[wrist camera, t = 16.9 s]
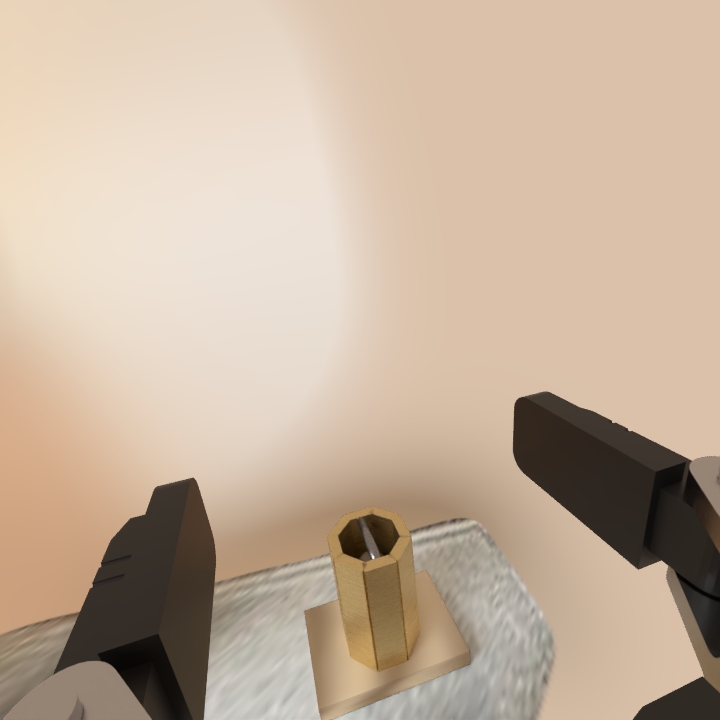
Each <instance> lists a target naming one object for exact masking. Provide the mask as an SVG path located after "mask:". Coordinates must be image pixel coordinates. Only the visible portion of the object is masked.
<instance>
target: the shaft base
mask: <svg viewBox="0 0 720 720" xmlns="http://www.w3.org/2000/svg"><path fill="white" fill-rule="evenodd" d="M380 554H381V553H380ZM381 557H383V555H382V554H381ZM359 560H361V561H363V562H367V561H370V560H371V559H370V557H369V554H368V551H367V552H365V553H364V554H363V555H362V556H361V557H360V559H359ZM415 582H416V593H417V604H418V616H419V627H420V634H419V637H418V639H417V642H416V644H415V646H414V649H413V651H412V654H411V656H410V659H409V660H408V659H407V662H405V663H402V664H400V665H397V666H394V667H392V668H389V669H386V670H384V671H381V672H379V670H378V671H377V672H376V671H374V670H372V669H370V668H368V667H367V666H365V665H363V664H361V663H359V662H357V661H356V660H354V659H352V658H351V656H350V654H349V650H348V646H347V641H346V637H345V633H344V628H343V623H342V617H341V612H340V606H339V600H335V601H332V602H329V603H326V604H323V605H320V606H317V607H314V608H311V609H308V610H305V611H304V612H305V619H306V626H307V633H308V639H309V646H310V653H311V660H312V667H313V673H314V680H315V687H316V694H317V701H318V708H319V713H320V717H321V720H331V719H334V718H336V717H339V716H341V715H344V714H346V713H349V712H351V711H354V710H356V709H359V708H361V707H364V706H366V705H369V704H371V703H374V702H376V701H379V700H381V699H384V698H386V697H389V696H391V695H394V694H396V693H399V692H401V691H404V690H406V689H409V688H411V687H414V686H416V685H419V684H421V683H424V682H426V681H429V680H431V679H434V678H436V677H439V676H441V675H444V674H446V673H449V672H451V671H454V670H456V669H459V668H461V667H464V666H466V665H469V664H470V650H469V648H468V647H467V645H466V643H465V641H464V639H463V637H462V635H461V633H460V632H459V630H458V628H457V626H456V624H455V622H454V620H453V619H452V617H451V615H450V613H449V611H448V609H447V607H446V605H445V604H444V602H443V600H442V598H441V596H440V594H439V592H438V591H437V589H436V587H435V585H434V583H433V581H432V579H431V577H430V576H429V574H428V572H427V570H425V571H422V572H419V573H416V574H415Z"/></svg>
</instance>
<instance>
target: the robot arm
mask: <svg viewBox="0 0 720 720" xmlns="http://www.w3.org/2000/svg"><path fill="white" fill-rule="evenodd" d="M513 453H514V457H515V461H516V463H517V465H518V467H519V468H520V469H521V470H522V472H523V473H524V474H525V475H526V476H528V477H529V478H530V479H531V480H532V481H534V482H535V483H536V484H537V485H538V486H540V487H541V488H542V489H543V490H544V491H546V492H547V493H548V494H549V495H550V496H551V497H553V498H554V499H555V500H556V501H557V502H559V503H560V504H561V505H562V506H563V507H565V508H566V509H567V510H568V511H569V512H571V513H572V514H573V515H574V516H575V517H576V518H578V519H579V520H580V521H581V522H582V523H583V524H585V525H586V526H587V527H588V528H590V529H591V530H592V531H593V532H594V533H595V534H597V535H598V536H599V537H600V538H601V539H602V540H604V541H605V542H606V543H607V544H608V545H610V546H611V547H612V548H613V549H614V550H616V551H617V552H618V553H619V554H620V555H621V556H623V557H624V558H625V559H626V560H627V561H629V562H630V563H631V564H632V565H633V566H635V567H636V568H637V569H641V568H643V567H646V566H648V565H651V564H654V563H656V562H659V561H661V560H662V561H663V562H665V563H666V564H667V565H668V569H667V574H666V576H667V577H666V578H667V582H668V585H669V587H670V590H671V593H672V595H673V597H674V600H675V603H676V605H677V608H678V610H679V613H680V615H681V618H682V620H683V623H684V625H685V628H686V630H687V633H688V635H689V638H690V640H691V643H692V645H693V648H694V650H695V653H696V656H697V658H698V661H699V663H700V666H701V668H702V671H703V674H704V677H701V678H699V679H696V680H695V681H693V682H691V683H689V684H687V685H685V686H683V687H681V688H679V689H677V690H675V691H673V692H671V693H669V694H667V695H665V696H663V697H661V698H659V699H657V700H655V701H653V702H651V703H649V704H647V705H645V706H643V707H642V708H641V709H640V711H639V712H638V713H637V715H636V716H635V717H634V719H633V720H720V457H716V456H709V457H701V458H698V459H695V460H693V461H691V460H689V459H687V458H685V457H683V456H681V455H679V454H677V453H675V452H673V451H671V450H669V449H667V448H665V447H663V446H661V445H659V444H657V443H655V442H653V441H651V440H649V439H647V438H645V437H643V436H641V435H639V434H637V433H635V432H633V431H630V432H629V431H628V429H627V428H625V427H623V426H621V425H619V424H617V423H612V421H611V420H609V419H607V418H605V417H603V416H601V415H599V414H597V413H595V412H593V411H590V410H587V409H583V408H580V407H578V406H576V405H574V404H572V403H570V402H568V401H566V400H564V399H562V398H560V397H558V396H556V395H554V394H552V393H550V392H541V393H537V394H533V395H529V396H525V397H521V398H519V399H518V400H517V401H516V403H515V406H514V431H513ZM215 568H216V554H215V544H214V539H213V534H212V531H211V527H210V524H209V520H208V517H207V514H206V510H205V507H204V504H203V500H202V497H201V494H200V490H199V487H198V484H197V482H196V480H195V479H194V478H190V479H186V480H182V481H178V482H174V483H170V484H166V485H162V486H157V487H156V488H155V489H154V491H153V494H152V497H151V500H150V503H149V506H148V508H147V511H146V514H145V515H142V516H139V517H134V518H130V520H129V521H128V522H127V523H126V524H125V525H124V526H123V527H122V528H121V530H120V531H119V532H118V533H117V534H116V535H115V536H114V537H113V538H112V540H111V541H110V543H109V546H108V548H107V550H106V553H105V555H104V557H103V560H102V562H101V567H100V568H99V569H98V572H97V574H96V576H95V578H94V581H93V588H91V589H90V590H89V592H88V595H87V597H86V599H85V602H84V604H83V606H82V609H81V611H80V613H79V616H78V618H77V620H76V623H75V625H74V627H73V630H72V632H71V634H70V637H69V639H68V641H67V644H66V646H65V648H64V651H63V653H62V655H61V658H60V660H59V662H58V665H57V667H56V669H55V672H54V674H53V676H51V677H49V678H48V679H46V680H45V681H43V682H42V683H40V684H39V685H38V686H36V687H35V688H34V689H32V690H31V691H30V692H29V693H28V694H27V695H25V696H24V697H23V698H22V699H21V700H20V701H19V702H18V703H17V704H16V705H15V706H14V707H13V708H12V709H11V710H10V711H9V712H8V714H7V715H6V716H5V717H4V718H3V719H2V720H204V708H205V695H206V683H207V670H208V657H209V644H210V632H211V619H212V606H213V594H214V581H215Z"/></svg>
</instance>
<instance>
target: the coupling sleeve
mask: <svg viewBox="0 0 720 720" xmlns="http://www.w3.org/2000/svg"><path fill="white" fill-rule="evenodd" d="M327 539H328V545H329V550H330V556H331V561H332V567H333V573H334V578H335V584H336V589H337V595H338V600H339V606H340V612H341V617H342V623H343V628H344V633H345V637H346V641H347V646H348V650H349V654H350V656H351V658H352V659H354V660H356V661H357V662H359V663H361V664H363V665H365V666H367V667H368V668H370V669H372V670H374V671H376V672H377V671H378V670H379V672H381V671H384V670H386V669H389V668H392V667H394V666H397V665H400V664H402V663H405V662H407V659H408V660H409V659H410V656H411V654H412V651H413V649H414V646H415V644H416V642H417V639H418V637H419V634H420V627H419V616H418V604H417V593H416V582H415V571H414V560H413V549H412V538H411V534H410V532H409V530H408V529H407V527H406V525H405V523H404V521H403V519H402V517H401V516H399V514H396V513H393V512H390V511H386V510H383V509H380V508H376V507H373V508H372V507H369V508H366V509H362V510H358V511H355V512H351V513H348V514H345V516H342V518H341V519H340V520H339V521H338V523H337V524H336V525H335V526H334V528H333V529H332V530H331V531H330V532H329V534H328V536H327ZM367 551H368V554H369V557H370V559H371V560H370V561H367V562H363V561H361V560H359V559H360V557H361V556H362V555H363V554H364V553H365V552H367ZM380 553H381V554H382V555H383V557H381V554H380Z"/></svg>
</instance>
